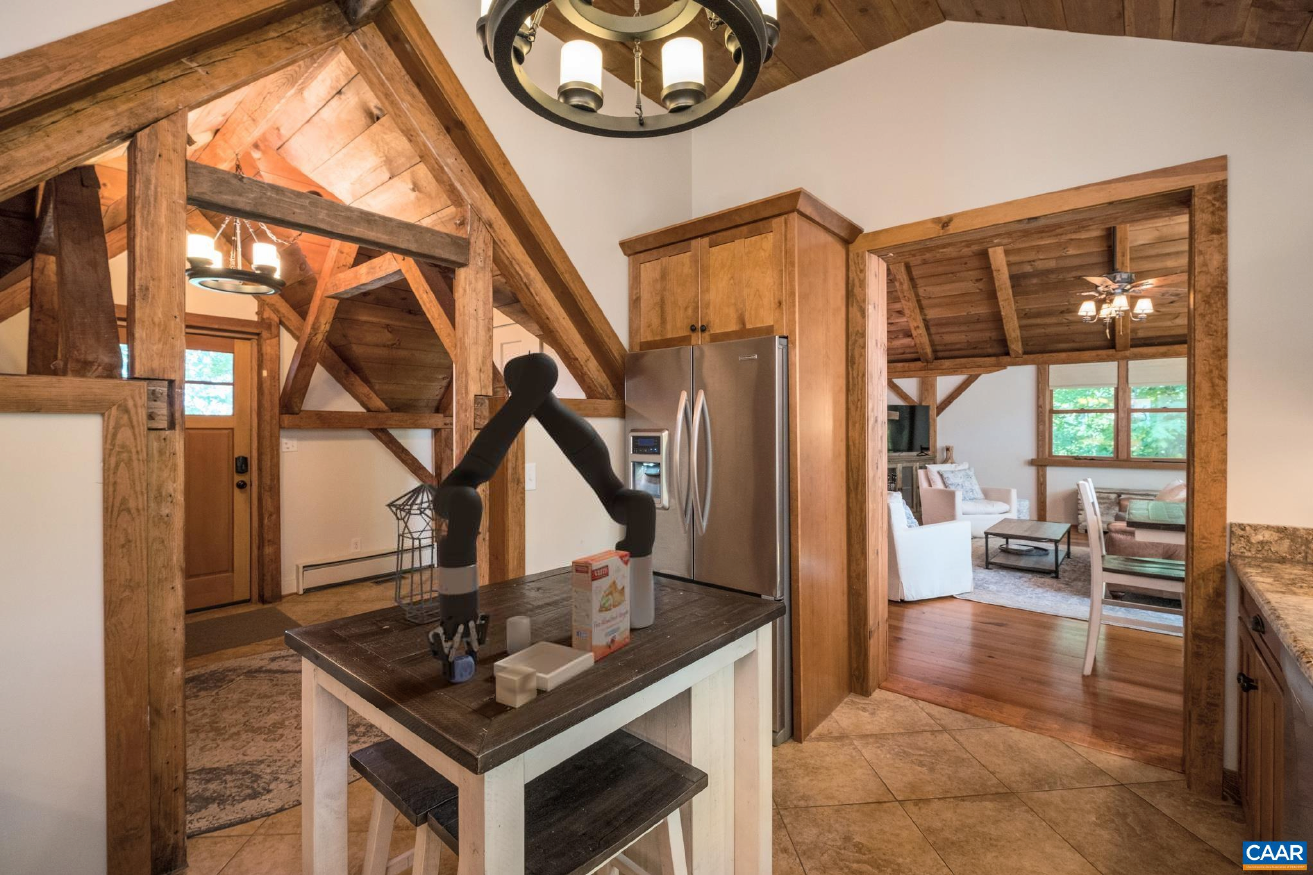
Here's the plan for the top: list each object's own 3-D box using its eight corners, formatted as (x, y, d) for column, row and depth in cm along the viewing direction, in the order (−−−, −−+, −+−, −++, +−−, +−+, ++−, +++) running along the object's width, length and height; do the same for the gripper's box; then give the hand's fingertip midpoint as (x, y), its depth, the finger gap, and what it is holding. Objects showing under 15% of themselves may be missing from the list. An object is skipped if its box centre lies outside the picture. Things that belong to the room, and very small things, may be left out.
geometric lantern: (384, 618, 152) (382, 484, 152) (441, 604, 164) (438, 479, 163) (413, 631, 142) (411, 487, 141) (471, 615, 154) (469, 482, 153)
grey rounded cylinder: (518, 645, 131) (518, 614, 131) (535, 649, 129) (534, 618, 129) (502, 653, 127) (501, 621, 127) (519, 657, 125) (518, 624, 125)
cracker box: (593, 664, 120) (592, 563, 120) (571, 659, 123) (569, 560, 123) (632, 643, 132) (630, 550, 132) (610, 638, 135) (609, 548, 135)
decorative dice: (445, 678, 114) (445, 658, 114) (464, 672, 117) (463, 652, 117) (456, 684, 112) (455, 663, 111) (475, 677, 115) (474, 657, 114)
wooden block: (516, 691, 109) (516, 664, 109) (536, 697, 106) (536, 669, 106) (496, 701, 104) (495, 673, 104) (516, 708, 102) (516, 679, 102)
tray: (542, 652, 127) (542, 640, 127) (594, 664, 120) (593, 652, 120) (493, 675, 115) (493, 663, 115) (548, 691, 108) (547, 678, 108)
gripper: (441, 599, 106) (442, 692, 106) (499, 581, 118) (501, 665, 119) (414, 593, 110) (416, 684, 110) (474, 576, 122) (475, 658, 122)
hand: (460, 673), depth 114 cm, fingers closed on decorative dice, 4 cm apart
